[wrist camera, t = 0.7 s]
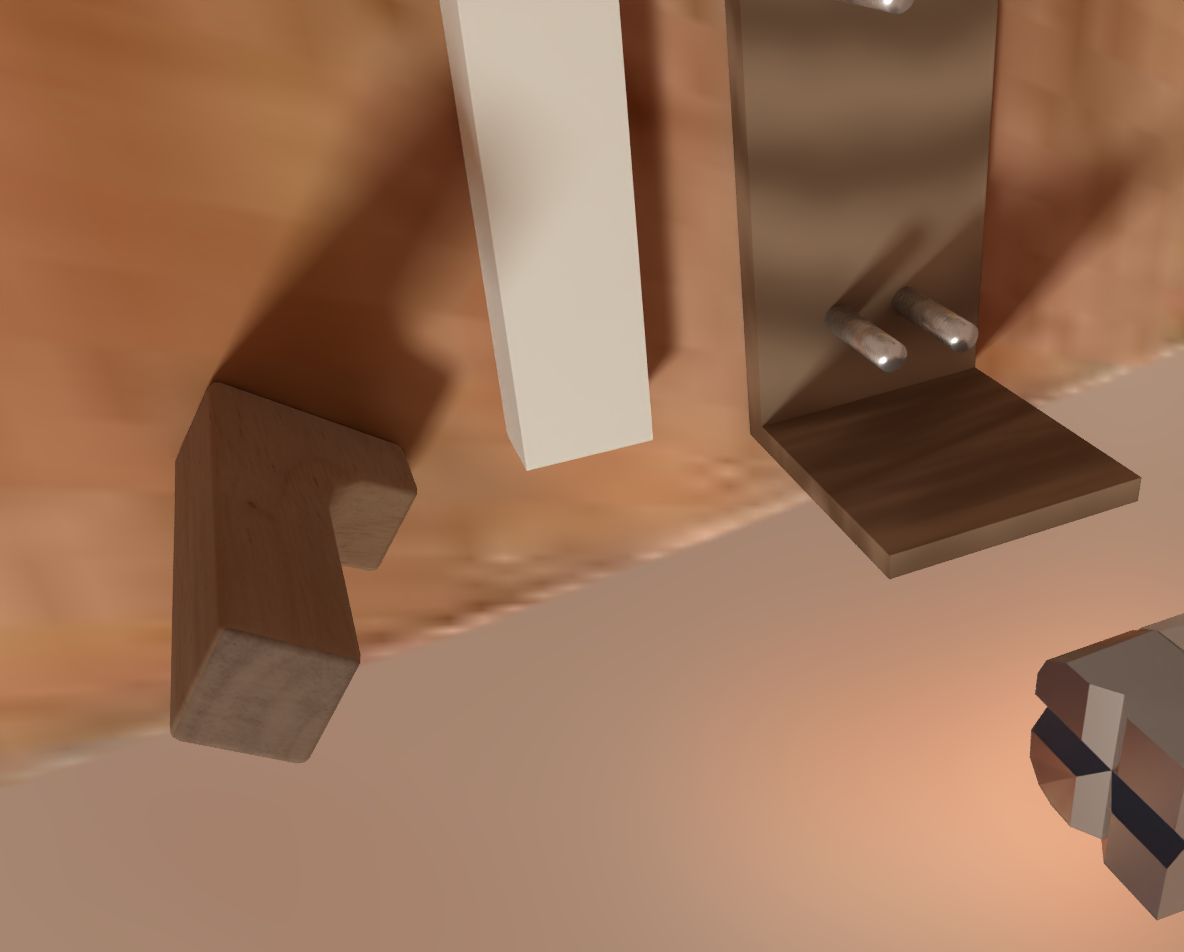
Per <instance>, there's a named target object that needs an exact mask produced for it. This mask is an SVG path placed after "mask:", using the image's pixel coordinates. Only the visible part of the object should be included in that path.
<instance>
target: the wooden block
mask: <svg viewBox="0 0 1184 952" xmlns="http://www.w3.org/2000/svg"><path fill="white" fill-rule="evenodd" d="M416 495H417V487H416V484H415V482H414V479H413V476H412V473H411V471H410V468H409V465H408V462H407V459H406V457H405V454H404V451H403V449H402V448H401V447H400V446H399V445H396V444H394V443H391V442H388V441H385V440H382V439H379V438H377V437H374V436H371V435H368V434H365V433H362V432H360V431H357V430H354V429H351V428H348V427H345V426H343V425H340V424H337V423H334V422H331V421H328V420H326V419H323V418H320V417H317V416H314V415H311V414H309V413H306V412H303V411H300V410H297V409H294V408H291V407H289V406H286V405H283V404H280V403H277V402H274V401H271V400H269V399H266V398H263V397H260V396H257V395H254V394H251V393H249V392H246V391H243V390H240V389H237V388H234V387H231V386H229V385H226V384H223V383H220V382H213V383H212V384H211V385H210V386H209V387H208V388H207V391H206V393H205V395H204V397H203V400H202V402H201V404H200V406H199V409H198V411H197V413H196V416H195V418H194V420H193V422H192V425H191V427H190V429H189V431H188V434H187V436H186V438H185V441H184V443H183V445H182V447H181V450H180V452H179V454H178V456H177V459H176V461H175V522H174V561H173V607H172V656H171V704H170V731H171V734H172V736H173V737H174V738H176V739H178V740H179V741H184V742H189V743H194V744H199V745H204V746H210V747H215V748H220V749H225V750H231V751H236V752H241V753H246V754H251V755H257V756H262V757H267V758H272V759H277V760H283V761H288V762H294V763H303V762H305V761H307V760H308V759H309V758H310V756H311V754H312V752H313V750H314V748H315V747H316V744H317V743H318V741H319V739H320V737H321V735H322V733H323V731H324V729H325V728H326V726H327V724H328V722H329V720H330V718H331V716H332V715H333V713H334V711H335V709H336V707H337V705H338V703H339V701H340V700H341V698H342V696H343V694H344V692H345V690H346V688H347V687H348V685H349V683H350V681H351V679H352V677H353V675H354V673H355V672H356V670H357V668H358V666H359V664H360V651H359V646H358V641H357V637H356V632H355V627H354V623H353V618H352V613H351V609H350V604H349V599H348V594H347V590H346V585H345V580H344V576H343V571H342V566H341V565H343V566H348V567H353V568H359V569H364V570H369V571H372V570H376V569H377V568H378V567H379V565H380V564H381V562H382V560H383V558H384V556H385V554H386V552H387V550H388V548H389V546H390V544H391V543H392V541H393V539H394V537H395V535H396V533H397V531H398V529H399V527H400V525H401V524H402V522H403V520H404V518H405V516H406V514H407V512H408V510H409V508H410V506H411V504H412V503H413V501H414V499H415V497H416Z"/></svg>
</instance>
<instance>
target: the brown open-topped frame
mask: <svg viewBox="0 0 1184 952" xmlns="http://www.w3.org/2000/svg"><path fill="white" fill-rule="evenodd" d="M725 7H726V24H727V42H728V59H729V76H730V93H731V110H732V127H733V144H734V161H735V178H736V195H737V213H738V230H739V247H740V264H741V281H742V298H743V315H744V332H745V349H746V366H747V384H748V401H749V418H750V434H751V435H752V436H753V437H754V438H755V440H756V441H757V442H758V443H759V444H760V445H761V446H762V447H763V448H764V449H765V450H766V451H767V452H768V453H769V454H770V455H771V456H772V457H773V458H774V459H775V460H776V461H777V463H778V464H779V465H780V466H781V467H782V468H783V469H784V470H785V471H786V472H787V473H788V474H789V475H790V476H791V477H792V478H793V479H794V480H795V481H796V482H797V483H798V484H799V485H800V487H801V488H802V489H803V490H804V491H805V492H806V493H807V494H808V495H809V496H810V497H811V498H812V499H813V500H814V501H815V502H816V503H817V504H818V505H819V506H820V507H821V508H822V509H823V510H824V512H825V513H826V514H827V515H828V516H829V517H830V518H831V519H832V520H833V521H834V522H835V523H836V524H837V525H838V526H839V527H840V528H841V529H842V530H843V531H844V532H845V534H846V535H847V536H848V537H850V539H851V540H852V541H853V542H854V543H855V544H856V545H857V546H858V547H859V548H860V549H861V550H862V551H863V552H864V553H865V554H866V555H867V556H868V557H869V559H871V561H873V563H874V564H875V565H876V566H877V567H878V568H879V569H880V570H881V571H882V572H883V573H884V574H885V575H886V576H887V577H888V578H889V579H892V578H895V577H898V576H901V575H904V574H907V573H911V572H914V571H917V570H920V569H923V568H927V567H930V566H933V565H936V564H939V563H942V562H945V561H949V560H952V559H955V558H958V557H962V556H965V555H968V554H971V553H974V552H977V551H981V550H984V549H987V548H990V547H993V546H996V545H999V544H1003V543H1006V542H1009V541H1012V540H1015V539H1018V538H1022V537H1025V536H1028V535H1031V534H1034V533H1038V532H1041V531H1044V530H1047V529H1050V528H1053V527H1057V526H1060V525H1063V524H1066V523H1069V522H1073V521H1075V520H1079V519H1082V518H1085V517H1088V516H1092V515H1095V514H1098V513H1101V512H1104V511H1107V510H1110V509H1113V508H1117V507H1120V506H1123V505H1126V504H1130V503H1133V502H1136V501H1138V495H1139V490H1140V483H1141V477H1140V476H1138V475H1137V474H1135V473H1134V472H1132V471H1131V470H1129V469H1128V468H1126V467H1125V466H1123V465H1122V464H1120V463H1119V462H1117V461H1116V460H1114V459H1113V458H1111V457H1110V456H1108V455H1107V454H1105V453H1103V452H1102V451H1100V450H1099V449H1097V448H1096V447H1094V446H1092V445H1091V444H1090V443H1088V442H1087V441H1085V440H1084V439H1082V438H1081V437H1079V436H1078V435H1076V434H1075V433H1073V432H1072V431H1070V430H1069V429H1067V428H1066V427H1064V426H1062V425H1061V424H1060V423H1058V422H1056V421H1055V420H1053V419H1052V418H1050V417H1049V416H1048V415H1046V414H1045V413H1043V412H1042V411H1040V410H1039V409H1037V408H1035V407H1034V406H1032V405H1031V404H1029V403H1028V402H1026V401H1025V400H1023V399H1022V398H1020V397H1019V396H1017V395H1016V394H1014V393H1013V392H1011V391H1010V390H1008V389H1007V388H1005V387H1004V386H1002V385H1001V384H999V383H998V382H996V381H995V380H993V379H992V378H990V377H989V376H987V375H986V374H984V373H983V372H981V371H980V370H978V369H977V368H975V360H976V344H977V339H978V329H977V328H978V312H979V297H980V281H981V265H982V249H983V233H984V217H985V201H986V186H987V170H988V154H989V138H990V122H991V106H992V90H993V75H994V59H995V43H996V27H997V11H998V0H725Z"/></svg>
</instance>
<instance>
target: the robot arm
mask: <svg viewBox="0 0 1184 952" xmlns="http://www.w3.org/2000/svg"><path fill="white" fill-rule="evenodd" d="M1035 694H1036V695H1037V696H1038V697H1039V698H1040V699H1041V701H1042V702H1043V703H1044V704H1045V705H1046V706H1047V708H1046V709H1045V711H1044V713H1043V714H1042V715H1041V717H1040V718H1039V719H1038V721H1037V722H1036V724H1035V725H1034V727H1033V728H1032V730H1031V746H1030V759H1031V762H1032V765H1033V768H1034V771H1035V774H1036V778H1037V781H1038V784H1039V786H1040V788H1041V789H1042V791H1043V792H1044V794H1045V796H1046V797H1047V799H1048V801H1049V802H1050V804H1051V805H1052V807H1053V808H1054V809H1055V810H1056V811H1057V812H1058V813H1059V815H1060V816H1061V817H1062V818H1063V819H1064V820H1065V821H1066V822H1067V823H1068V825H1069V826H1070V827H1073V828H1075V829H1078V830H1080V831H1083V832H1085V833H1087V834H1090V835H1093V836H1095V837H1097V838H1100V839H1101V841H1102V850H1103V860H1104V864H1105V865H1106V866H1107V867H1108V868H1109V869H1110V871H1111V872H1112V873H1113V874H1114V875H1115V876H1116V877H1117V878H1118V879H1119V880H1120V881H1121V882H1122V883H1123V885H1124V886H1125V887H1126V888H1127V889H1128V890H1129V891H1130V892H1131V893H1132V894H1133V895H1134V896H1135V897H1136V898H1137V900H1139V902H1140V903H1141V904H1142V905H1143V906H1144V907H1145V908H1146V909H1147V910H1148V911H1149V912H1150V914H1151V915H1152V916H1153V917H1154V918H1155V919H1156V920H1159V919H1162V918H1165V917H1167V916H1170V915H1173V914H1175V913H1178V912H1181V911H1184V614H1181V615H1178V616H1175V617H1172V618H1169V619H1166V620H1163V621H1161V622H1157V623H1154V624H1151V625H1148V626H1145V627H1142V628H1140V629H1139V630H1132V631H1129V632H1126V633H1123V634H1121V635H1117V636H1115V637H1112V638H1109V639H1106V640H1103V641H1100V642H1098V643H1095V644H1092V645H1089V646H1086V647H1083V648H1080V649H1078V650H1075V651H1072V652H1069V653H1066V654H1064V655H1061V656H1058V657H1055V658H1052V659H1049V660H1047V661H1046V662H1045V663H1044V665H1043V666H1042V668H1041V669H1040V670H1039V672H1038V674H1037V683H1036V690H1035Z"/></svg>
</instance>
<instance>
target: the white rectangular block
mask: <svg viewBox="0 0 1184 952" xmlns="http://www.w3.org/2000/svg"><path fill="white" fill-rule="evenodd" d="M439 1H440V7H441V13H442V20H443V26H444V33H445V39H446V45H447V52H448V58H449V65H450V71H451V77H452V84H453V90H454V97H455V103H456V109H457V116H458V122H459V129H460V135H461V141H462V148H463V154H464V161H465V167H466V173H467V180H468V186H469V193H470V199H471V205H472V212H473V218H474V225H475V231H476V237H477V244H478V250H479V257H480V263H481V269H482V276H483V282H484V289H485V295H486V301H487V308H488V314H489V321H490V327H491V333H492V340H493V346H494V353H495V359H496V365H497V372H498V378H499V385H500V391H501V397H502V404H503V410H504V417H505V423H506V429H507V435H508V437H509V439H510V441H511V442H512V444H513V446H514V448H515V450H516V452H517V454H518V455H519V457H520V459H521V461H522V463H523V465H524V467H525V468H526V470H527V471H528V470H532V469H536V468H540V467H544V466H548V465H552V464H556V463H560V462H565V461H569V460H573V459H577V458H581V457H585V456H589V455H593V454H597V453H601V452H605V451H610V450H614V449H618V448H622V447H626V446H630V445H634V444H638V443H642V442H646V441H650V440H653V433H652V421H651V408H650V395H649V382H648V369H647V356H646V343H645V330H644V318H643V305H642V292H641V279H640V266H639V253H638V240H637V227H636V214H635V202H634V189H633V176H632V163H631V150H630V137H629V124H628V111H627V99H626V86H625V73H624V60H623V47H622V34H621V21H620V8H619V0H439Z"/></svg>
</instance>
